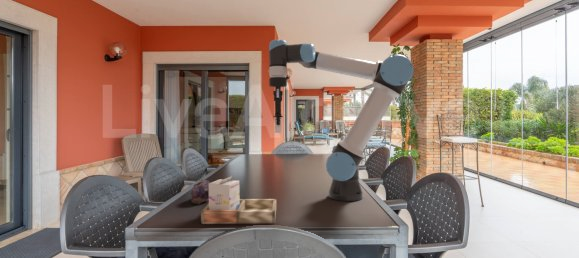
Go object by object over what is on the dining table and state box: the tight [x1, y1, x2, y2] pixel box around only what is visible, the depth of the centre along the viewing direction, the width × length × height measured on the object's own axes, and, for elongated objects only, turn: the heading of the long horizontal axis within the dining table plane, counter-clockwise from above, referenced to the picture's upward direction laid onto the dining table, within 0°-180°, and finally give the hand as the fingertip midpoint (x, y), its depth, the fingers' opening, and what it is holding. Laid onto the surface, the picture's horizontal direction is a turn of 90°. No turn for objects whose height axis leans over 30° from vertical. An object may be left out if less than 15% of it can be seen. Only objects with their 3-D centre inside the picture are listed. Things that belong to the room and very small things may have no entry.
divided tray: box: [200, 198, 277, 225], centre depth 118 cm, size 25×17×4 cm
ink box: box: [208, 175, 241, 210], centre depth 118 cm, size 9×8×13 cm
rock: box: [190, 179, 211, 205], centre depth 139 cm, size 12×9×10 cm
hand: (278, 132), depth 140 cm, fingers closed
